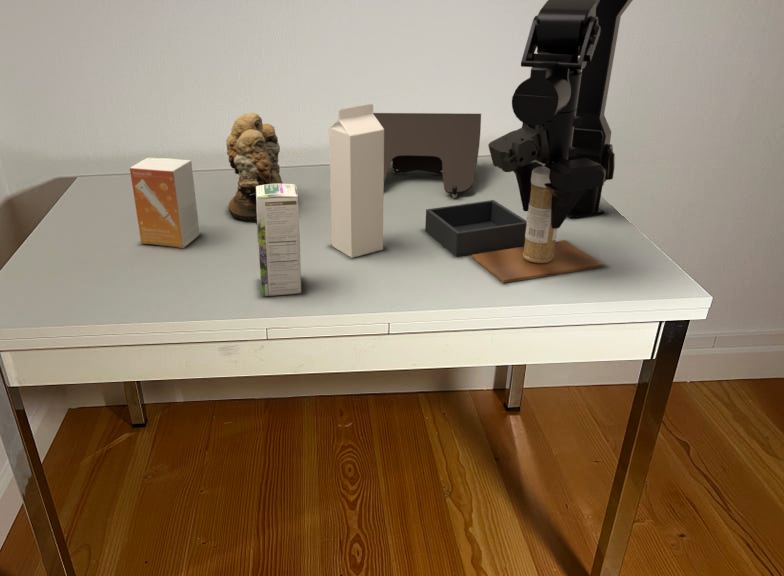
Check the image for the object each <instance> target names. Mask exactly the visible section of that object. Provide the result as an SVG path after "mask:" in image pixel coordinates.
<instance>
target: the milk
mask: <svg viewBox="0 0 784 576" xmlns="http://www.w3.org/2000/svg"><path fill="white" fill-rule="evenodd" d="M373 113H374V104H373V103H367V104H360V105H355V106H350V107H344V108H339V110H338V120H337V121H336V122H334V123H333V124H332V125H331V126H329V127H328V144H329V145H328V146H329V147H328V149H329V181H330V183H329V185H330V219H331V220H330V222H331V225H330V226H331V246H332V247H333V248H334V249H335V250H337V251H339V252H341V253H342V254H344V255H346V256H347V257H349V258H352V259H353V258H357V257H360V256H364V255H368V254H371V253H375V252H379V251H382V250H384V191H385V190H384V187H385V186H384V183H385V181H384V128H383V127H382V126H381V124H380V123H379V121H378V120H377V119H376V117H375V116H374V114H373Z"/></svg>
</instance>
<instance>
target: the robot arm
mask: <svg viewBox="0 0 784 576" xmlns="http://www.w3.org/2000/svg"><path fill="white" fill-rule="evenodd" d="M633 1H634V0H546V2H545V3H544V5H543V6H542V7H541V8H540V10H539V11H538V13H537V15H535V16H534V18H533V19H532V23H531V26H530V28H529V33H528V36H527V41H526V43H525V47H524V50H523V54H522V58H521V61H520V67H523V68H530V73H529V77H528V78H526V79H525V80H523V81H522V82H521V83H519V85H518V86H517V87H516V89H515V90H514V93H513V95H512V97H511V108H512V112H513V113H514V116H515V118H516V119H518V121H520V122H521V123H522V125H521V127H520V128H518V129H515V130H511V131H510V132H508V133H505V134H504V135H502V136H500V137H498V138H496V139H493V140H492V141H490V142H489V143H488V145H487V146H488V150H489V154H490V157H491V162H492V165H493V167H495V168H498V169H500V170H501V171H502V172H503V173H511V172H513V173H514V176H515V178H516V182H517V186H518V190H519V191H518V192H519V196H520V200H521V201H520V202H521V205H522V210H523V211H524V212H528V207H529V202H530V195H531V176H532V171H533V169H535V168H537V167H542V166H545V167H547V168H549V169H550V173H549V179H550V182H551V183H545V184H544V185H545V186H546V187H547V189H548V190H549V191H550V192H551V193H552V204H551V227H552V228H553V229H556V228H557V229H560V227H561V226H562V224H563V223H564V222H565V220H566V219H567V217H569V218H570V219H576V218H582V217H588V216H589V217H590V216H595V215H602V214H605V209H603V208H601V207H600V205H601V204H600V203H601V197H602V192H603V187H604V185H605V182H607V181H610V180H613V179H614V175H615V165H616V164H615V163H616V162H615V161H616V157H615V156H616V155H615V153H614V146H613V144H611V139H612V130H611V128H610V125H609V123H608V121H607V119H606V117H605V111H606V106H607V100H608V94H609V88H610V82H611V76H612V71H613V66H614V65H613V64H614V59H615V53H616V46H617V41H618V35H619V30H620V23H621V19H622V18H621V17H622V15H623V14H624V13H625V11H626V10H627V9H628V8H629V6H630V5H631V4H632V3H633Z"/></svg>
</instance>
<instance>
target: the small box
mask: <svg viewBox="0 0 784 576" xmlns="http://www.w3.org/2000/svg"><path fill="white" fill-rule="evenodd" d="M129 172H130V179H131V186H132V192H133V199H134V205H135V206H134V207H135V211H136V218H137V225H138V230H139V239H140V243H141V244H143V245H144V244H145V245H156V246H162V247H163V246H164V247H171V248H179V249H184V248H185V247H187V246H188V245H190V243H191V242H193V241H194V240H196V239H197V238H198V237H199V236H200V234H201V233H200V225H199V216H198V205H197V198H196V191H195V190H196V189H195V182H194V181H195V180H194V174H193V164H192V160H191V159H179V158H168V157H167V158H166V157H165V158H160V157H146V158H144V159H142V160H140V161H139V162H137V163H135V164H134V165H132V166H130V167H129Z"/></svg>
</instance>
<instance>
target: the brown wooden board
mask: <svg viewBox="0 0 784 576" xmlns="http://www.w3.org/2000/svg"><path fill="white" fill-rule="evenodd" d="M523 252H524V246H521V247H515V248H509V249H502V250H496V251H489V252H483V253H477V254H471V258H472V259H473V260H474V261H475V262H476V263H478V264H479V265H480V266H481V267H482V268H484V269H485V270H486V271H487V272H488V273H490V274H491V275H492V276H494V277H495V278H496V279H498V280H499V281H500V282H501V283H502V284H508V283H514V282H520V281H526V280H532V279H538V278H544V277H550V276H556V275H561V274H568V273H575V272H580V271H585V270H586V271H587V270H593V269H598V268H603V267H604V263H602V262H601V261H599V260H597V259H596V258H594V257H593V256H591V255H589V254H588V253H586V252H585V251H583V250H582V249H580V248H578V247H577V246H575V245H573V244H572V243H570V242H569V241H567V240H565V239H564V240H558V241H555V245H554V253H553V254H554V258H553V260H551V261H550V262H548V263H542V264H541V263H532V262H529V261H527V260H525V259H524V258H523Z"/></svg>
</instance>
